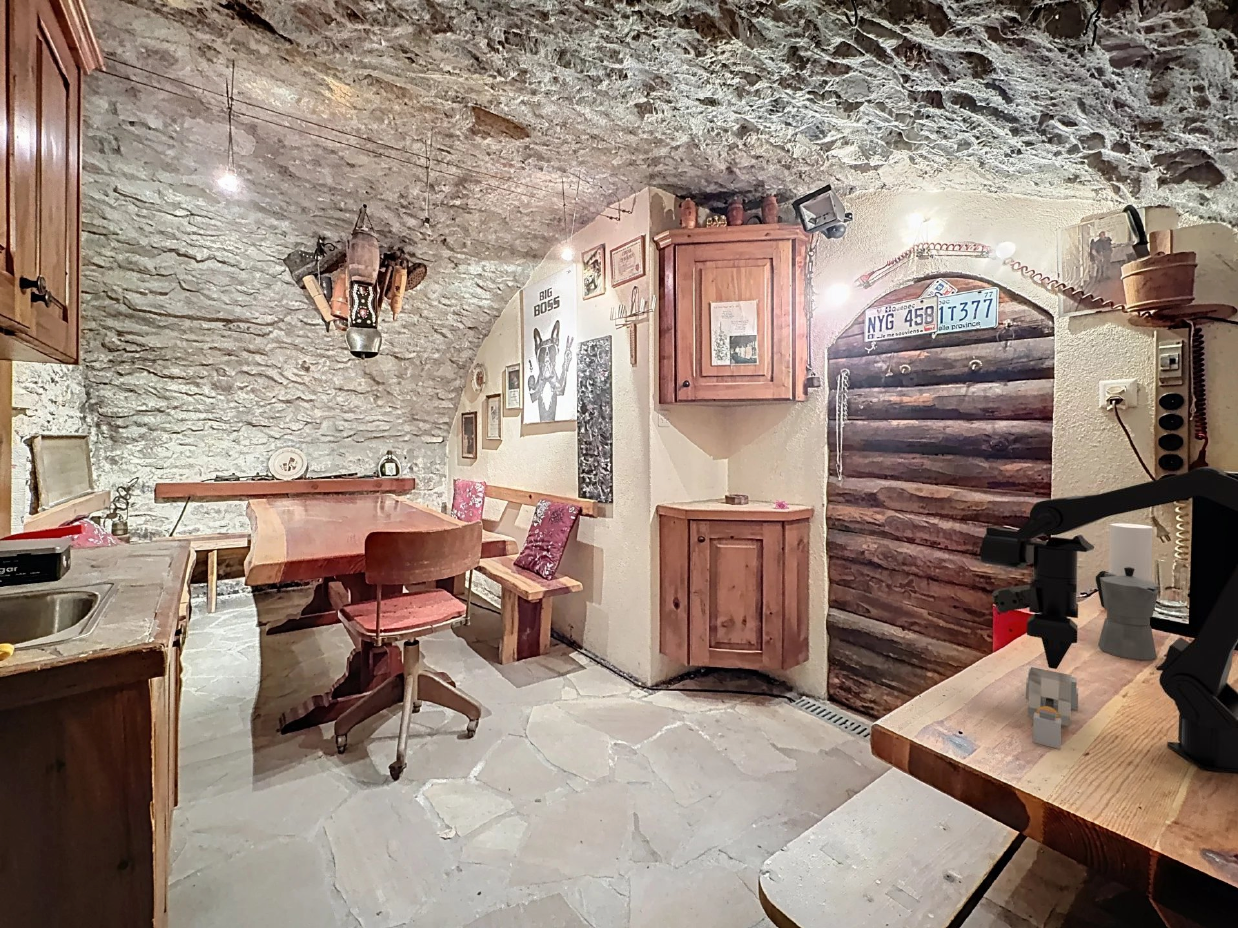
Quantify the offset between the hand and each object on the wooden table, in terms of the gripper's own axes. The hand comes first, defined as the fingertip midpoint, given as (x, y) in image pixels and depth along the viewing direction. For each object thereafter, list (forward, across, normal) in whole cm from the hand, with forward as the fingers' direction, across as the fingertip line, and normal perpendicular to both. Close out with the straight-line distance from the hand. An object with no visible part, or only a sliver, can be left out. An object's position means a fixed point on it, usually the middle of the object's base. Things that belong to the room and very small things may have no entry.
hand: (1052, 667), depth 94 cm
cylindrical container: (+7, -55, +12) cm, 57 cm away
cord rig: (+7, +5, 0) cm, 9 cm away
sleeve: (+7, +6, 0) cm, 9 cm away
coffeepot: (+7, -42, +10) cm, 43 cm away
